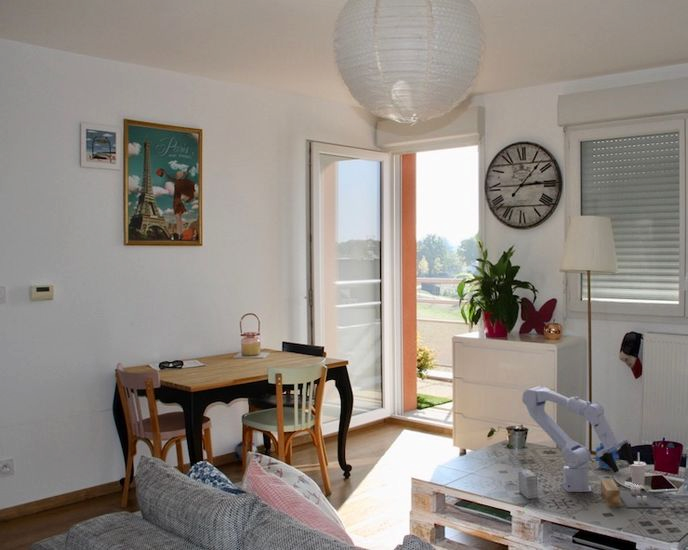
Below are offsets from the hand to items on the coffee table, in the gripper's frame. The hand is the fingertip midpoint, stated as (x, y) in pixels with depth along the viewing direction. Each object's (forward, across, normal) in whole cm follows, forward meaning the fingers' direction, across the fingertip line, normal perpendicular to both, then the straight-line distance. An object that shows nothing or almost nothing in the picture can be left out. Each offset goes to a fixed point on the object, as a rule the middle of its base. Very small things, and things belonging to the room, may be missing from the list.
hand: (624, 468), depth 272 cm
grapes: (0, +17, +33) cm, 37 cm away
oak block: (+8, -8, +6) cm, 13 cm away
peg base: (+12, 0, +2) cm, 12 cm away
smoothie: (+10, +9, +12) cm, 18 cm away
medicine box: (-5, -29, +22) cm, 37 cm away
